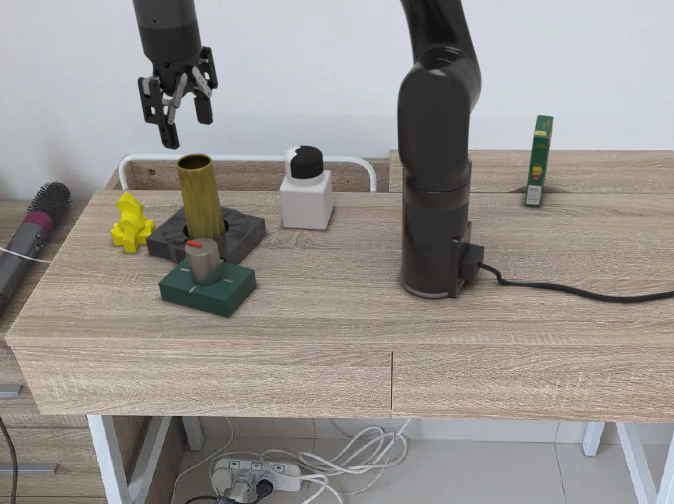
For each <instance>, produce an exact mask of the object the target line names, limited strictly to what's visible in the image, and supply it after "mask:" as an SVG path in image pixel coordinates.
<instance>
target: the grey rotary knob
mask: <svg viewBox="0 0 674 504" xmlns="http://www.w3.org/2000/svg"><path fill="white" fill-rule="evenodd" d="M186 243H187V244H186V246H185V251H186V256H187V261H188V266H189V270H190V275H191V279H192V281H193V282H194V283H196V284H200V285H208V284H212V283H215V282H217V281H218V280H220V279H221V277H222V269H221V263H220V257H219V252H218V246H217V243H216V241H214V240H213V239H210V238H198V239H194V240H192V241H189V240H188V241H187V242H186Z"/></svg>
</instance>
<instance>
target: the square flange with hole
mask: <svg viewBox="0 0 674 504" xmlns="http://www.w3.org/2000/svg"><path fill="white" fill-rule="evenodd" d="M220 206H221V205H220ZM221 212H222V217H223V221H224V225H225V230H226V233H225V234H224V235H223V236H221V237H218V238H216V239H213V240H214V241H216V243H217V246H218V252H219V257H220V260H221V259H223V260H224V261H223V262H225V263H229V264H233V265H238V264H240V262H241V261H242V260H243V259H244V258H245V257H246V256H247V255H248V254H249V253H250V252H251V251H252V250H253V249H255V247H256V245H258V244H259V243H260V242H261V241H262V240H263V239H264V238H265V237H266V236H267V227H266V219H265V217H260V216H256V215H251V214H246V213H242V212H241V211H239V210H238V209H236V208H232V207H227V206H221ZM155 229H156V230H155V231H154V232H152V233H151V234H150V235H149V236H148V237H147V238H145V239H146V243H147V244H146V247H147V252H148V255H149V256H153V257H157V258H159V259H165V260H168V261H172V262H173V263H175V264H176V265H178V264H179V263H180V262H181V261H182V260H183V259H184V258H185V257H187V256H186V251H185V246H186V244H187V243H186V242H187V241H188V240H189V241H192V239H189V235H188V229H187V223H186V218H185V212H184V205H183V206H182V207H181V208H180V209H178V210H177V211H176V212H174V213H173V214H172V215H171V216H170V217H169V218H167V220H165V221H164V222H163V223H162V224H160V225H159V226H158V227H157V228H155Z"/></svg>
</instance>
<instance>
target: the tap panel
mask: <svg viewBox="0 0 674 504" xmlns="http://www.w3.org/2000/svg"><path fill="white" fill-rule="evenodd" d="M223 261H224V260H223V259H221V260H220V263H221V269H222V277H221V279H220V280H218V281H217V282H215V283H212V284H208V285H200V284H196V283H194V282H193V281H192V279H191V275H190V270H189V266H188V261H187V257H185V258H184V259H183V260H182V261H181V262H180V263H179V264H176V266H175V267H173V268H172V269H171V270H170V271H169V272H168V273H166V275H165V276H164V277H163V278H162V279H161V280H159V281H158V283H157V284H158V288H159V292H160V296H161V300H162V301H165V302H169V303H173V304H177V305H180V306H183V307H187V308H192V309H194V310H199V311H203V312H207V313H210V314H214V315H219V316H222V317H225V318H230V317H231V316H232V314H234V312H235V311H236V310H237V309H238V308H239V306H241V304H242V303H244V301H245V300H246V299H247V298H248V296H250V294H251V293H252V292H253V291H255V289H256V288H257V286H258V285H257V278H256V271H255V269H253V268H249V267H245V266H241V265H238V264H237V265H233V264H229V263H225V262H223Z"/></svg>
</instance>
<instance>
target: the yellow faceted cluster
mask: <svg viewBox="0 0 674 504" xmlns="http://www.w3.org/2000/svg"><path fill="white" fill-rule="evenodd" d="M115 207H116V209H117V210H119V211H120V213H121V214H120V217H119V220H118V222H115V223H114V225H113V228H111V230H110V235H111V239H112V242H113V245H114V246H123V248H124V252H125V253H127V254H128V253H137V250H138V248H139V246H140V245H141V246H142V245H147V243H146V239H145V238H147V237H148V236H149V235H150V234H151V233H152V232H154V231H155V230H156V229H157V228H156V225H155V221H154V219H152V218H151V219H147V216H146V215H145V214H144V213H143V212H144V209H145V206H144V205H143V204H142V203H140V201H139V200H138V199H137V198H136V197H135V195H133V194H132V193H129V192H127V191H125V192H124V193H123V194H122V195H121V196H120V198H119V199H118V200H117V201H116V206H115Z"/></svg>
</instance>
